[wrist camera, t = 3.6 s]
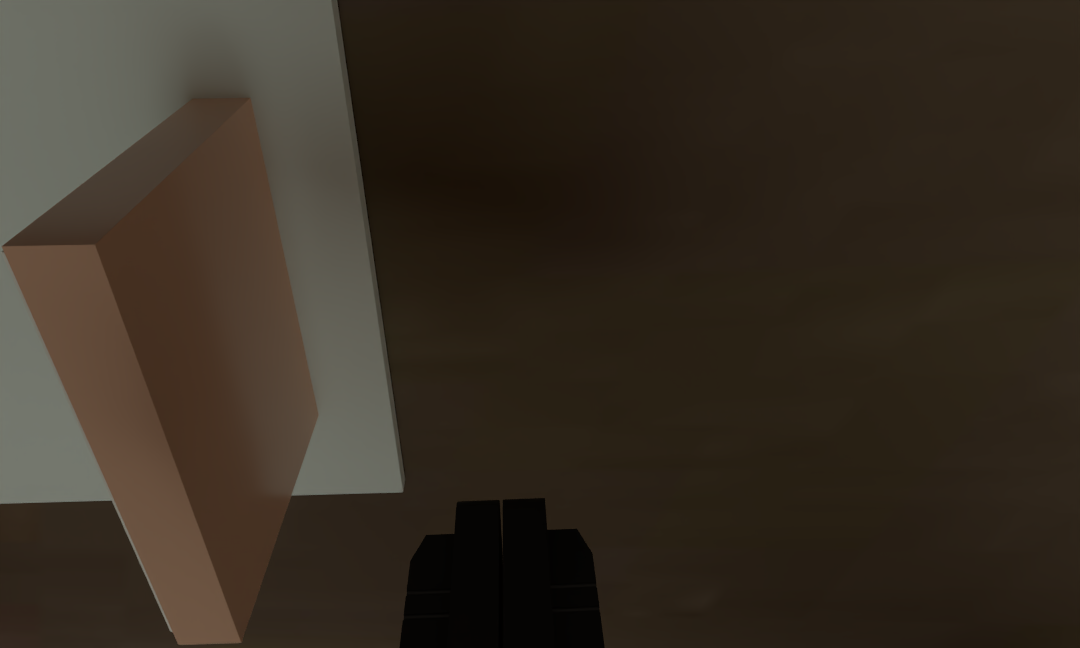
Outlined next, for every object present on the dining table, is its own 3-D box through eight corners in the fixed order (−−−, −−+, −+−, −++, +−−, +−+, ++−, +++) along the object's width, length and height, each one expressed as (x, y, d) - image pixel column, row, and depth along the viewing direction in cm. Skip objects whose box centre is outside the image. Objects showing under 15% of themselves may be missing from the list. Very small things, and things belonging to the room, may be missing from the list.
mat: (327, -68, 17) (322, -65, 16) (405, 479, 26) (403, 492, 25) (-498, -61, 16) (-530, -58, 16) (-120, 494, 25) (-133, 507, 25)
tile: (250, 97, 18) (94, 244, 11) (318, 415, 23) (240, 643, 17) (184, 98, 18) (-13, 247, 11) (267, 416, 23) (169, 645, 17)
